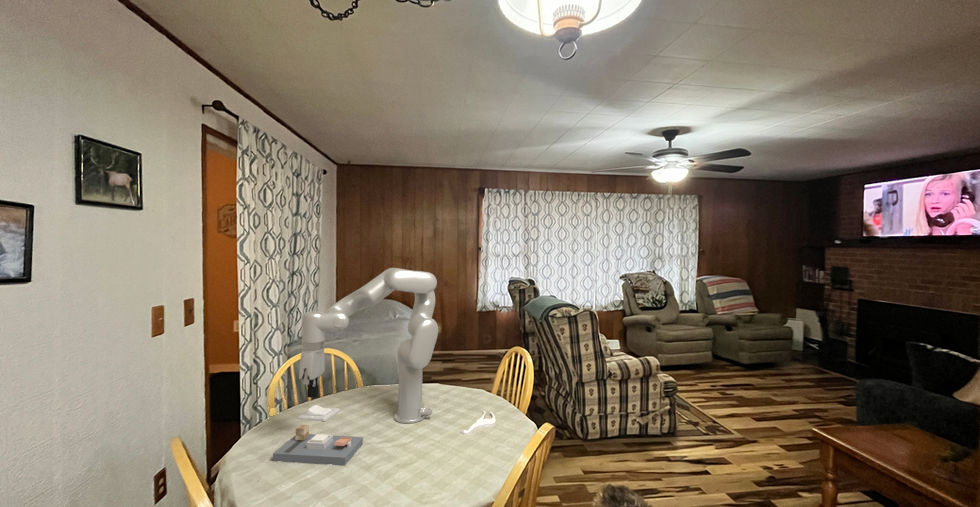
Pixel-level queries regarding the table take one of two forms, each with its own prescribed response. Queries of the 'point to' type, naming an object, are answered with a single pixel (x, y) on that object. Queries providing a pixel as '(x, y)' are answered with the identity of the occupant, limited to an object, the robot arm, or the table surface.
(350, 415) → the table surface
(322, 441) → the push button
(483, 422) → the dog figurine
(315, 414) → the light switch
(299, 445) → the switch panel
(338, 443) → the rocker paddle
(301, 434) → the slider knob
